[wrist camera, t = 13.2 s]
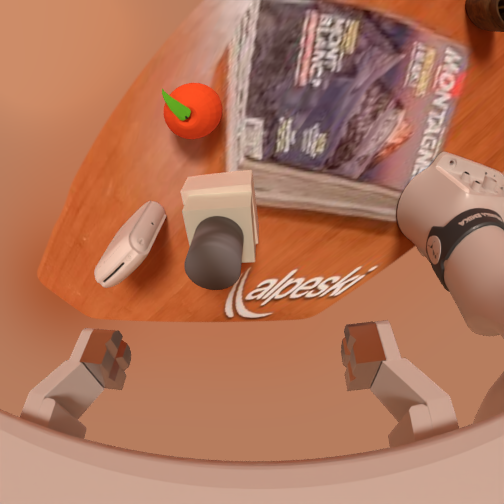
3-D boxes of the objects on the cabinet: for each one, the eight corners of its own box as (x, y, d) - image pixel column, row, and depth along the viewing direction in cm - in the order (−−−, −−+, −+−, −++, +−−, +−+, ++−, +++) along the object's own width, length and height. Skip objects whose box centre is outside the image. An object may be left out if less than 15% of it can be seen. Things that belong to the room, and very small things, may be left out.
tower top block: (251, 191, 38) (250, 206, 35) (255, 243, 43) (255, 262, 40) (188, 195, 39) (182, 210, 35) (198, 246, 43) (193, 264, 40)
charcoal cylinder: (240, 213, 35) (235, 244, 31) (246, 255, 39) (244, 288, 34) (189, 218, 36) (178, 248, 31) (200, 258, 40) (192, 291, 35)
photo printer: (151, 194, 44) (121, 242, 34) (171, 213, 46) (147, 265, 36) (114, 231, 48) (84, 281, 38) (133, 247, 50) (107, 299, 40)
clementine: (156, 104, 36) (136, 115, 30) (190, 64, 32) (175, 67, 27) (201, 140, 39) (189, 159, 33) (236, 103, 36) (231, 114, 30)
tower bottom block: (252, 169, 41) (250, 183, 37) (258, 224, 47) (258, 243, 43) (188, 176, 42) (180, 191, 38) (200, 229, 48) (194, 248, 44)
